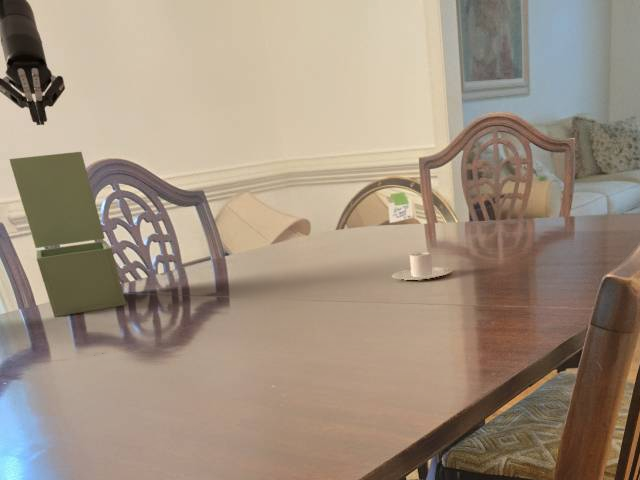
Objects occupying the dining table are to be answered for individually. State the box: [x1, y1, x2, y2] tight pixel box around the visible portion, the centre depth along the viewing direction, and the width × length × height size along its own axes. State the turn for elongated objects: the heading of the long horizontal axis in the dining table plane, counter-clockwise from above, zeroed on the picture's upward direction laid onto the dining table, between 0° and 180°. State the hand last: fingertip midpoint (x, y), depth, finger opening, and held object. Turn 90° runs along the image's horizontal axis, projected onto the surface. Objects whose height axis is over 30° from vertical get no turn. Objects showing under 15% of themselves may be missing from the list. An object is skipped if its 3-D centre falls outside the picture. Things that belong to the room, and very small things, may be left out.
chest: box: [36, 240, 127, 318], centre depth 157 cm, size 16×14×11 cm
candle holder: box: [391, 251, 453, 282], centre depth 151 cm, size 12×12×4 cm
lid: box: [8, 151, 105, 249], centre depth 158 cm, size 17×14×1 cm
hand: (39, 121), depth 152 cm, fingers closed
